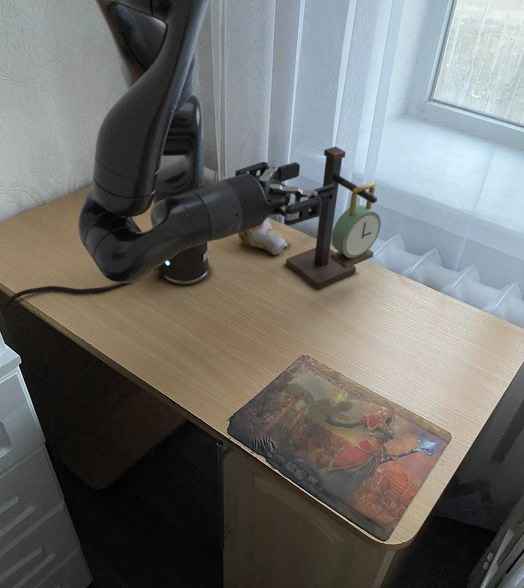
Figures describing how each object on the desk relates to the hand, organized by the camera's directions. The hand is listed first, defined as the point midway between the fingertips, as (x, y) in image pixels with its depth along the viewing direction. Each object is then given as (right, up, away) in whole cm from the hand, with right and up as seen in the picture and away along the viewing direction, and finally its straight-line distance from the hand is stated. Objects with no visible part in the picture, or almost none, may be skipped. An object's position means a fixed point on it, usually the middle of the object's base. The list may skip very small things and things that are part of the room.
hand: (315, 179), depth 82 cm
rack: (+5, -11, +25) cm, 28 cm away
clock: (+9, -9, +17) cm, 21 cm away
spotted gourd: (-8, -4, +32) cm, 34 cm away
